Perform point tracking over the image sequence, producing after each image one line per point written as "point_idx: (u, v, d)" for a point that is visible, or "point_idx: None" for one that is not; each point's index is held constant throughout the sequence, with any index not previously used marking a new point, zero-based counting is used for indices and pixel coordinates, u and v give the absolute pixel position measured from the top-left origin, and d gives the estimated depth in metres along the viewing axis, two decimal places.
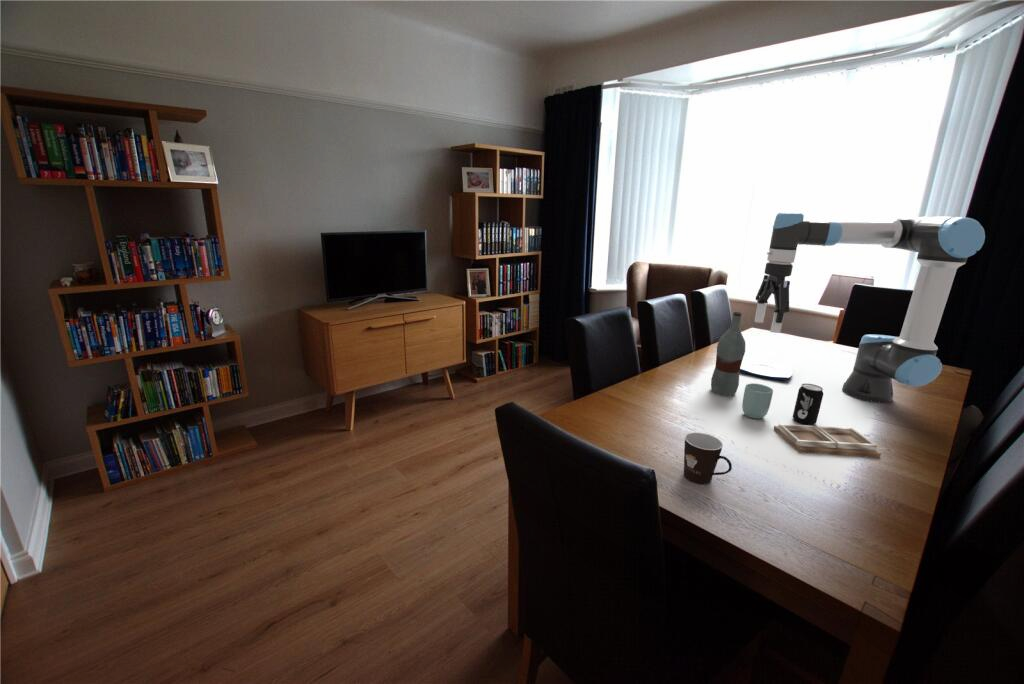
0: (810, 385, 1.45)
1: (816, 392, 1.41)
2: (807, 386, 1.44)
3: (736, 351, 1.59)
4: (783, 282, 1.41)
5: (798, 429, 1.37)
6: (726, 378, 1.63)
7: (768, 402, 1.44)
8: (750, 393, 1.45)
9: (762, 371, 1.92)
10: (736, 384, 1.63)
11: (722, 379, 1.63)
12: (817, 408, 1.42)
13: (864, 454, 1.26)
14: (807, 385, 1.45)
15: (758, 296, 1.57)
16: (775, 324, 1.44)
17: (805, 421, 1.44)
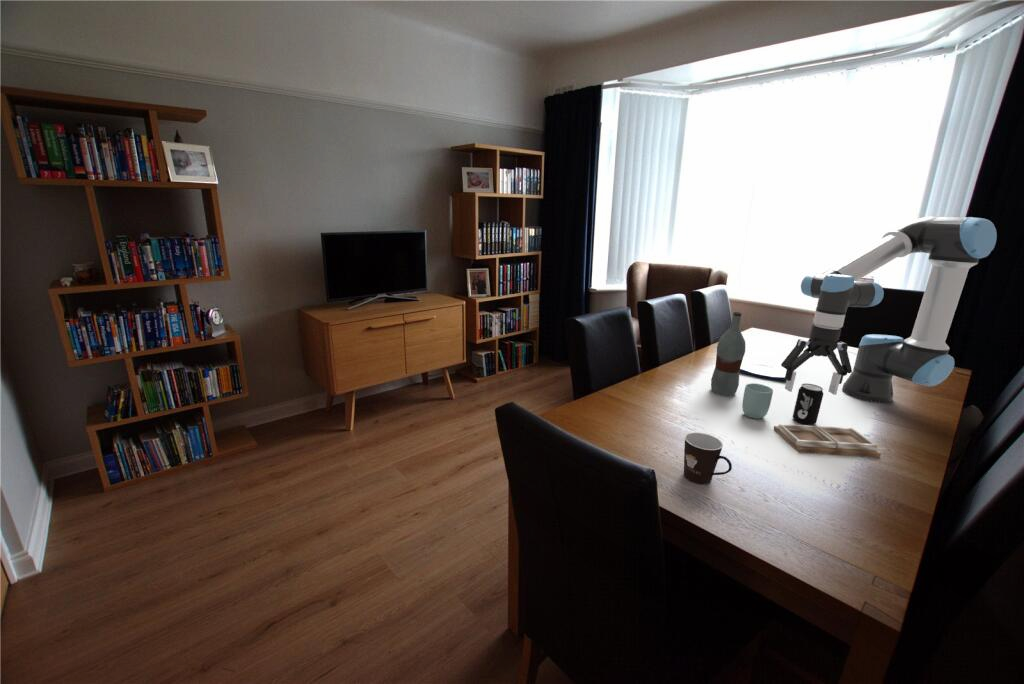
0: (810, 385, 1.45)
1: (816, 392, 1.41)
2: (807, 386, 1.44)
3: (736, 351, 1.59)
4: (798, 341, 1.40)
5: (798, 429, 1.37)
6: (726, 378, 1.63)
7: (768, 402, 1.44)
8: (750, 393, 1.45)
9: (762, 371, 1.92)
10: (736, 384, 1.63)
11: (722, 379, 1.63)
12: (817, 408, 1.42)
13: (864, 454, 1.26)
14: (807, 385, 1.45)
15: (842, 366, 1.42)
16: (787, 381, 1.44)
17: (805, 421, 1.44)
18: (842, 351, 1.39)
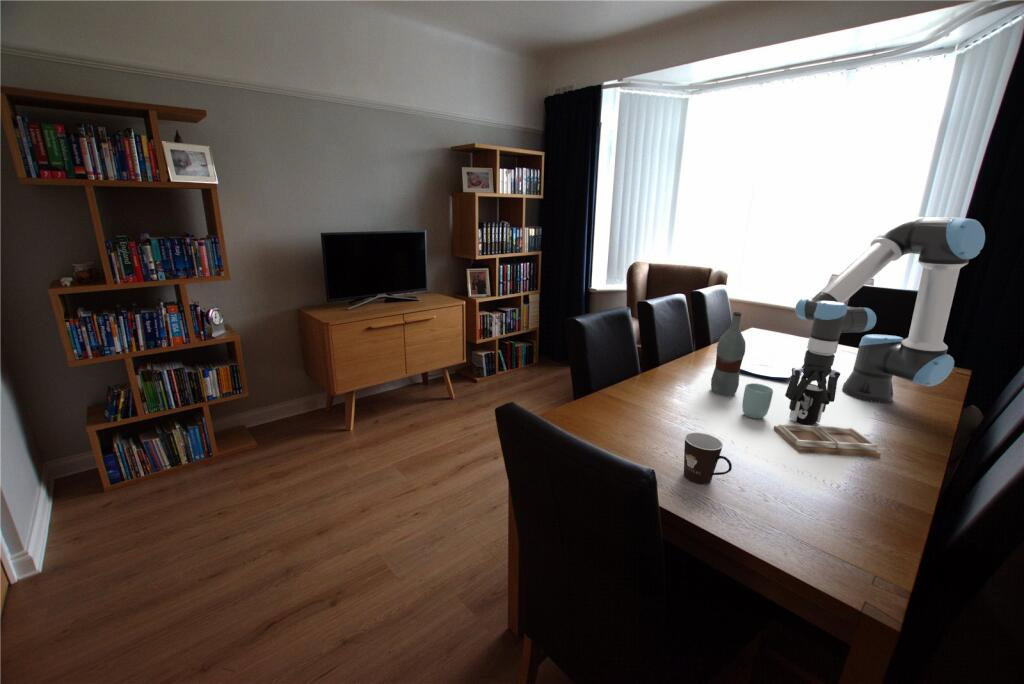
0: (810, 385, 1.45)
1: (816, 392, 1.41)
2: (807, 386, 1.44)
3: (736, 351, 1.59)
4: (792, 370, 1.43)
5: (798, 429, 1.37)
6: (726, 378, 1.63)
7: (768, 402, 1.44)
8: (750, 393, 1.45)
9: (762, 371, 1.92)
10: (736, 384, 1.63)
11: (722, 379, 1.63)
12: (817, 408, 1.42)
13: (864, 454, 1.26)
14: None
15: (826, 393, 1.45)
16: (792, 411, 1.46)
17: (805, 421, 1.44)
18: (833, 378, 1.41)
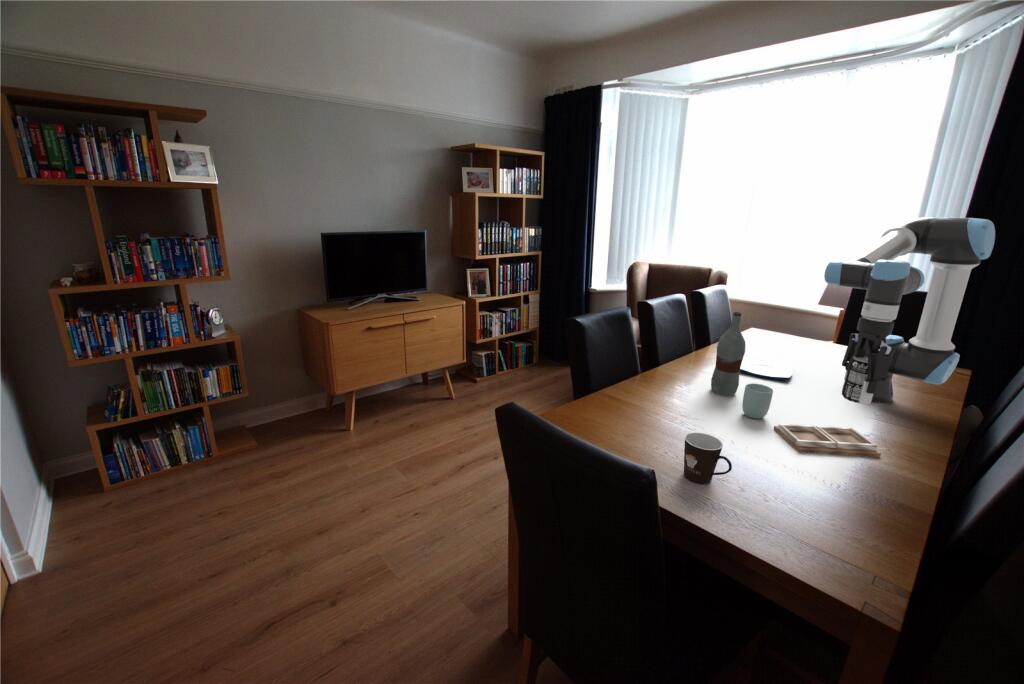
0: (857, 359, 1.26)
1: None
2: (864, 361, 1.25)
3: (736, 351, 1.59)
4: (886, 349, 1.18)
5: (798, 429, 1.37)
6: (726, 378, 1.63)
7: (768, 402, 1.44)
8: (750, 393, 1.45)
9: (762, 371, 1.92)
10: (736, 384, 1.63)
11: (722, 379, 1.63)
12: None
13: (864, 454, 1.26)
14: (860, 360, 1.26)
15: (846, 361, 1.32)
16: (865, 394, 1.24)
17: None
18: None
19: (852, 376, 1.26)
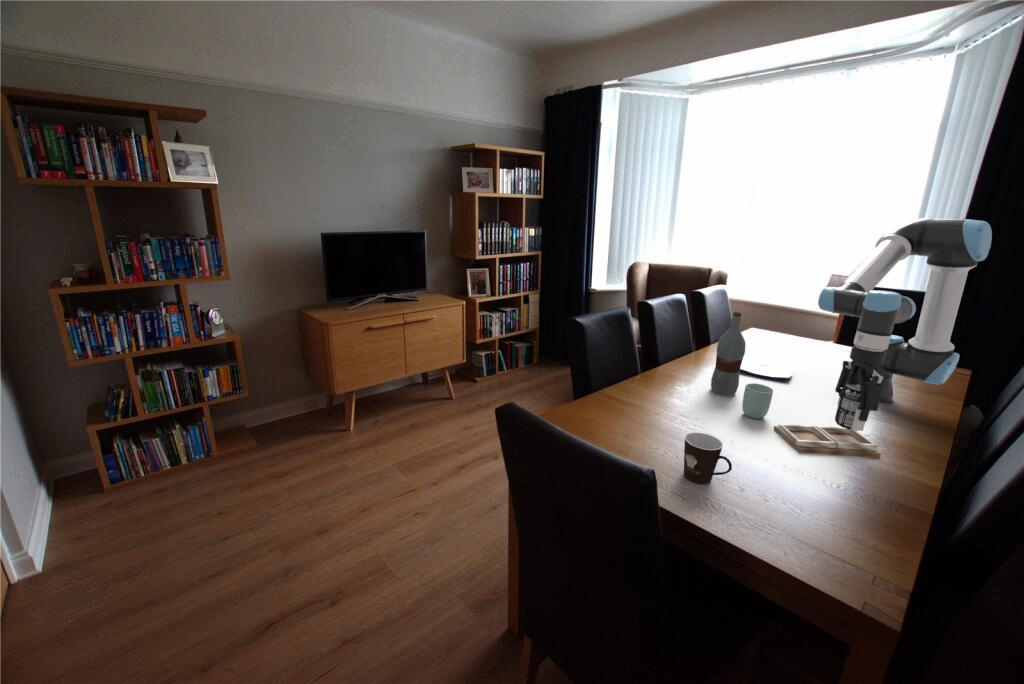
0: (850, 386, 1.29)
1: None
2: (857, 388, 1.27)
3: (736, 351, 1.59)
4: (878, 379, 1.20)
5: (798, 429, 1.37)
6: (726, 378, 1.63)
7: (768, 402, 1.44)
8: (750, 393, 1.45)
9: (762, 371, 1.92)
10: (736, 384, 1.63)
11: (722, 379, 1.63)
12: None
13: (864, 454, 1.26)
14: (852, 388, 1.28)
15: (839, 387, 1.34)
16: (858, 422, 1.27)
17: None
18: None
19: (845, 403, 1.29)
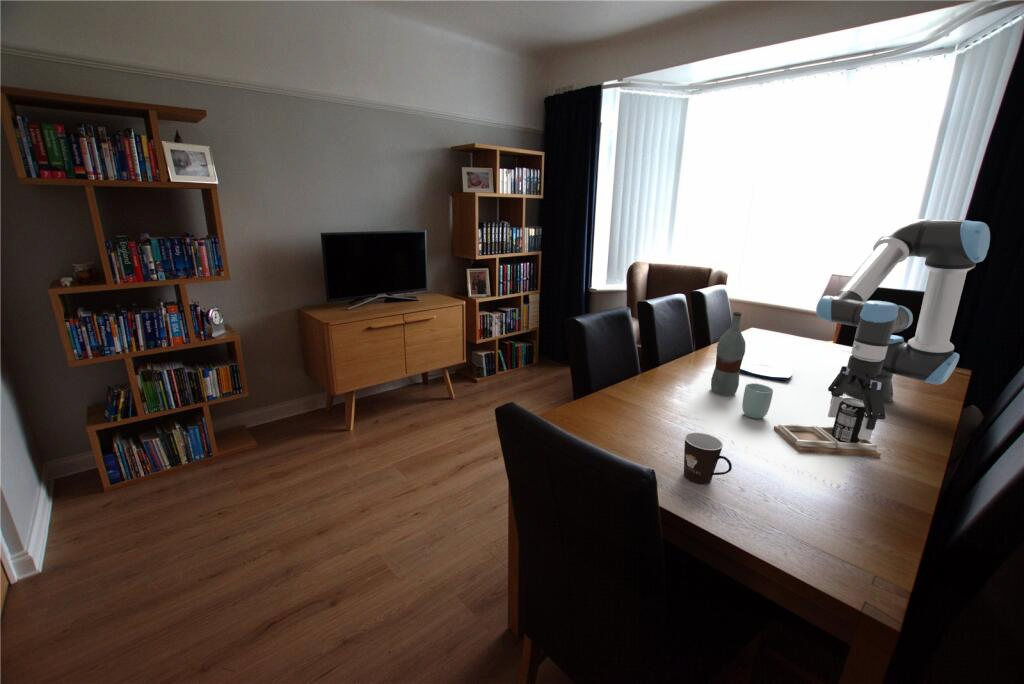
0: (846, 401, 1.30)
1: None
2: (853, 404, 1.29)
3: (736, 351, 1.59)
4: (877, 384, 1.21)
5: (798, 429, 1.37)
6: (726, 378, 1.63)
7: (768, 402, 1.44)
8: (750, 393, 1.45)
9: (762, 371, 1.92)
10: (736, 384, 1.63)
11: (722, 379, 1.63)
12: None
13: (864, 454, 1.26)
14: (849, 403, 1.29)
15: (832, 388, 1.37)
16: (865, 430, 1.24)
17: None
18: (848, 375, 1.33)
19: (841, 418, 1.30)
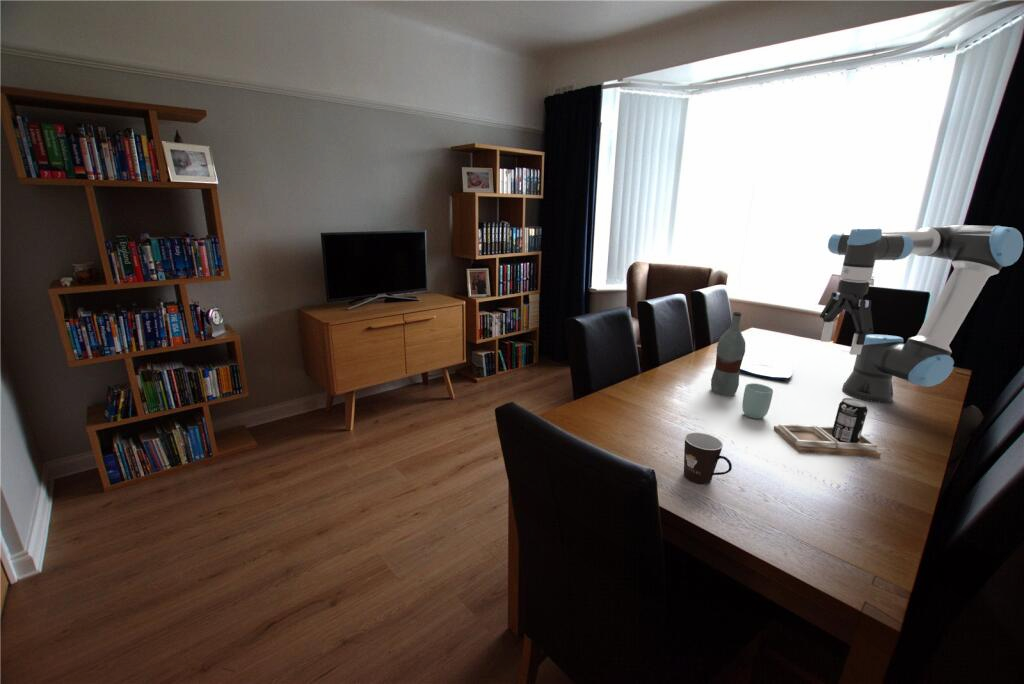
0: (846, 401, 1.30)
1: None
2: (853, 404, 1.29)
3: (736, 351, 1.59)
4: (865, 302, 1.33)
5: (798, 429, 1.37)
6: (726, 378, 1.63)
7: (768, 402, 1.44)
8: (750, 393, 1.45)
9: (762, 371, 1.92)
10: (736, 384, 1.63)
11: (722, 379, 1.63)
12: None
13: (864, 454, 1.26)
14: (849, 403, 1.29)
15: (824, 314, 1.50)
16: (855, 346, 1.36)
17: None
18: (838, 300, 1.46)
19: (841, 418, 1.30)
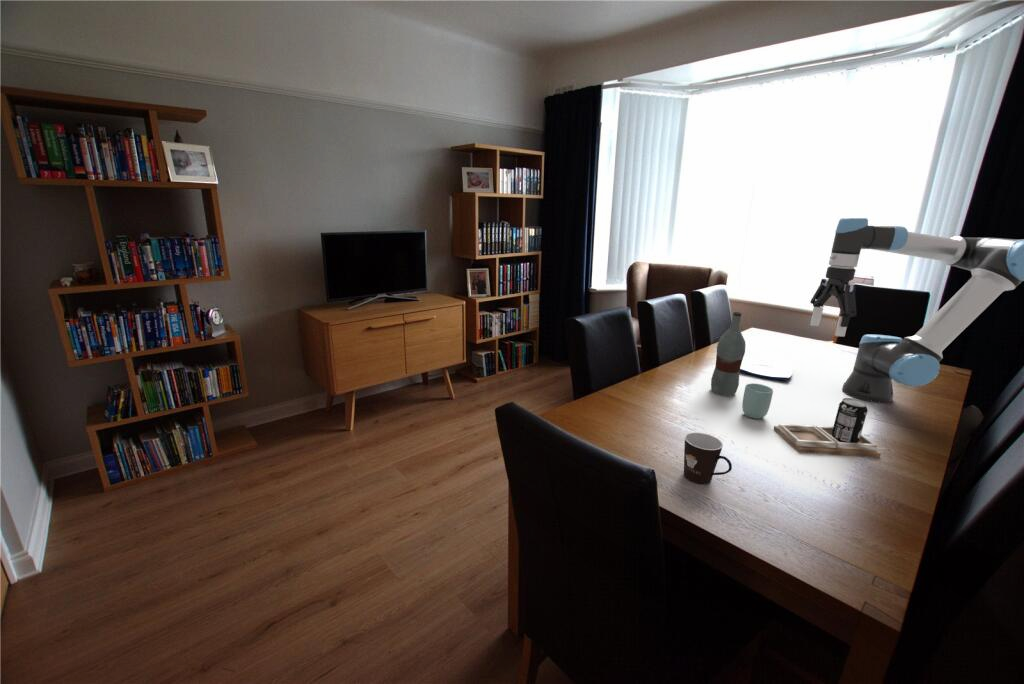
0: (846, 401, 1.30)
1: None
2: (853, 404, 1.29)
3: (736, 351, 1.59)
4: (849, 286, 1.42)
5: (798, 429, 1.37)
6: (726, 378, 1.63)
7: (768, 402, 1.44)
8: (750, 393, 1.45)
9: (762, 371, 1.92)
10: (736, 384, 1.63)
11: (722, 379, 1.63)
12: None
13: (864, 454, 1.26)
14: (849, 403, 1.29)
15: (814, 300, 1.59)
16: (840, 328, 1.46)
17: None
18: None
19: (841, 418, 1.30)
